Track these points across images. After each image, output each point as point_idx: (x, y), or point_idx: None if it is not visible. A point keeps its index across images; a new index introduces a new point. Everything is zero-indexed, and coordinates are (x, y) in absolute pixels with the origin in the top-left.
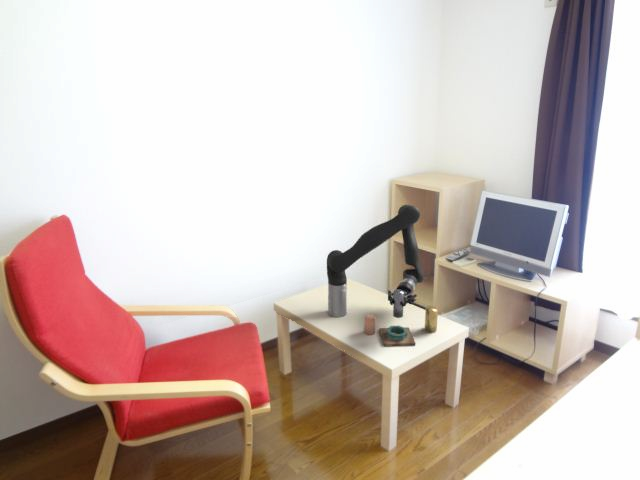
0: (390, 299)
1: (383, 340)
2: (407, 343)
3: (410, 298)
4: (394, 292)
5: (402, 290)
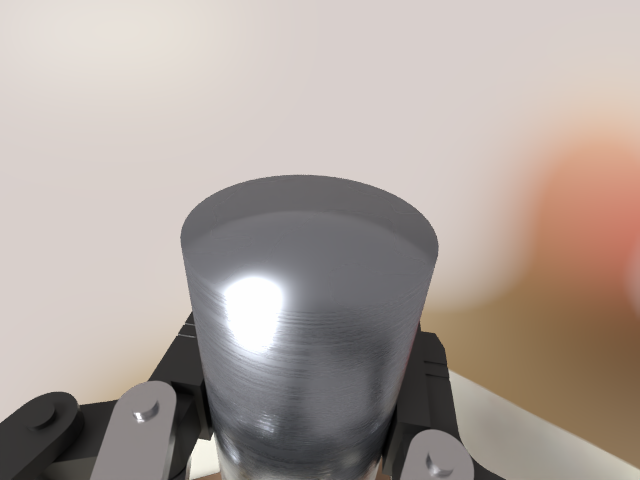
0: (449, 384)
1: (385, 476)
2: (218, 473)
3: (38, 408)
4: (396, 200)
5: (207, 262)
